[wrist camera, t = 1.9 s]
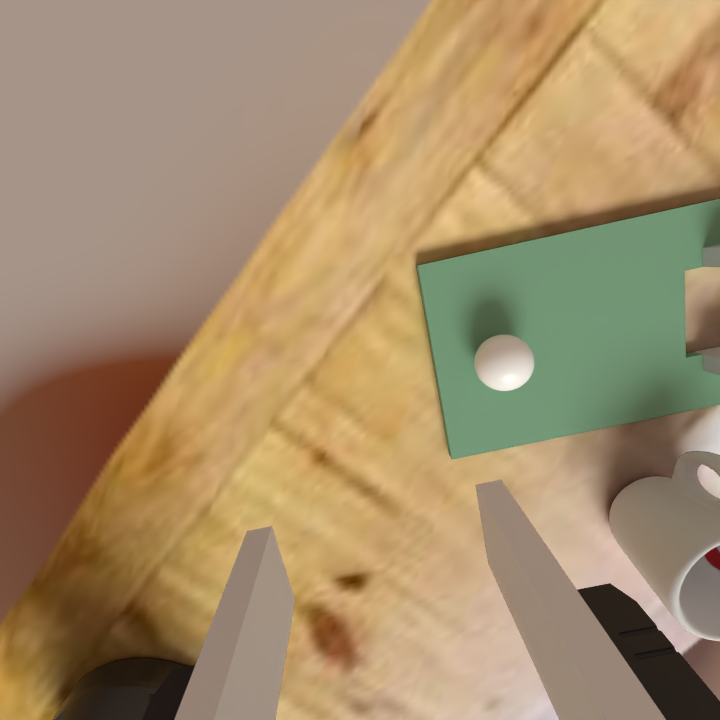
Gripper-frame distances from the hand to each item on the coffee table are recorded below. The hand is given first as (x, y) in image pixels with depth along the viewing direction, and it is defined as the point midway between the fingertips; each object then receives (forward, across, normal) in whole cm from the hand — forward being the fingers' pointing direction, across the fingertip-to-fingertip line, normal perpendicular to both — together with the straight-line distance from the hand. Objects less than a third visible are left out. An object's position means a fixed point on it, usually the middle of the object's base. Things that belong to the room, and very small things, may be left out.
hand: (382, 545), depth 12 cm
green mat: (+17, +18, 0) cm, 24 cm away
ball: (+14, +9, 0) cm, 17 cm away
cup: (+17, +20, -14) cm, 29 cm away
